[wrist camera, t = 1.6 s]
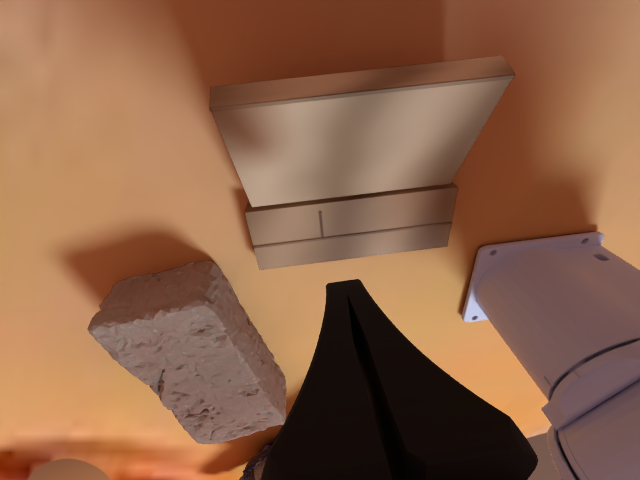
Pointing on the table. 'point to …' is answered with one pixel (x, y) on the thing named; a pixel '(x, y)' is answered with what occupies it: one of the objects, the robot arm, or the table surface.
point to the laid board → (351, 226)
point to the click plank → (357, 128)
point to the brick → (194, 351)
